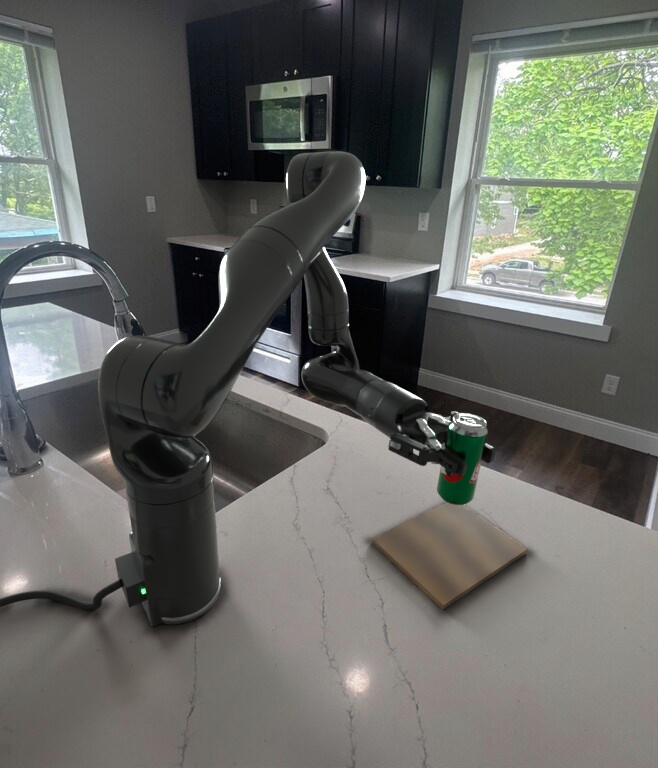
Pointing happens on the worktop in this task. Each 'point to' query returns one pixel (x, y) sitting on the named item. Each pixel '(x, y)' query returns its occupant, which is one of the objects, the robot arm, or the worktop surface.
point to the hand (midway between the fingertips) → (478, 462)
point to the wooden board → (448, 551)
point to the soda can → (469, 444)
